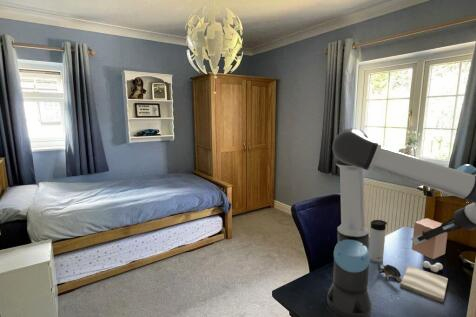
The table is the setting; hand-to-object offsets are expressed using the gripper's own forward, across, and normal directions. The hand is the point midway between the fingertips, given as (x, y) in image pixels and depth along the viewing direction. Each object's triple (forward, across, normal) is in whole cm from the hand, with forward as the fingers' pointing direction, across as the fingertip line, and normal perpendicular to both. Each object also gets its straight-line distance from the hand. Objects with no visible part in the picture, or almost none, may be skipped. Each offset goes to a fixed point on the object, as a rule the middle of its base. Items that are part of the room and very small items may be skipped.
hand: (420, 239), depth 108 cm
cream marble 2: (+13, +13, -13) cm, 22 cm away
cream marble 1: (+15, +13, -11) cm, 23 cm away
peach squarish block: (0, 0, -5) cm, 5 cm away
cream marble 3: (+13, +16, -13) cm, 24 cm away
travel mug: (+26, -2, -1) cm, 26 cm away
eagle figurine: (+17, -9, -9) cm, 22 cm away
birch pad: (+11, 0, -15) cm, 19 cm away
